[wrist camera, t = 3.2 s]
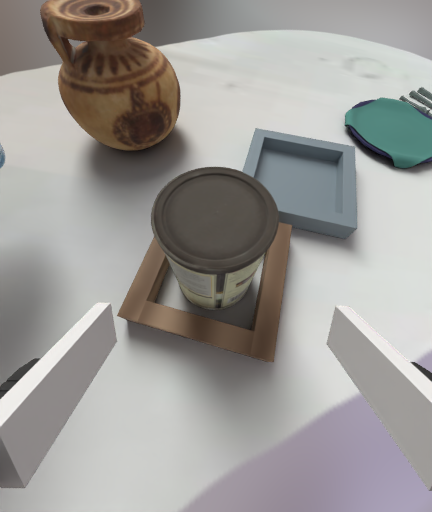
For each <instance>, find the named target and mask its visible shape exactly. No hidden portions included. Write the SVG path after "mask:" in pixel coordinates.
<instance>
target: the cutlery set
mask: <svg viewBox="0 0 432 512" xmlns="http://www.w3.org/2000/svg"><path fill="white" fill-rule="evenodd" d="M417 92H418V93H421V94H422V95H424V96H426V97H427V98H428V99H430V100H432V94H431V93H430V92H428V91H427V90H425V89H424V88H422V87H421V88H420V89H419V90H418V91H417ZM418 93H416V92H415V91H411V92H410V94H409V95H410V96H413V97H415V98H417V99H419V100H420V101H422V102H424V103H425V104H427V105H428V106H430V107H431V108H432V103H431V102H429V101H428V100H426V99H425V98H423V97H422V96H421V95H419V94H418ZM400 99H403V100H405V101H407V102H409V103H410V104H412V105H414V106H415V107H417V108H418V109H416V108H414V107H413V106H412V105H410V104H409V103H407V102H403V101H399V100H395V99H388V98H379V99H377V100H369V101H364V102H360V103H359V104H357V105H355V106H354V107H352V109H351V110H349V111H348V112H347V113H346V115H345V126H348V125H349V127H350V129H351V131H352V133H353V135H354V136H355V137H356V138H357V139H358V140H360V141H361V142H362V143H363V144H364V145H365V146H367V147H368V148H370V149H372V150H373V151H375V152H376V153H379V154H381V155H384V156H386V157H389V158H391V159H393V161H394V166H395V167H398V168H408V167H412V166H414V165H416V164H418V163H428V162H431V161H432V114H431V113H429V111H430V110H426V108H425V107H421V106H418V105H417V104H415V103H413V102H411V101H409V100H408V99H406V98H405V97H403V96H401V97H400Z"/></svg>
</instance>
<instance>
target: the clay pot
mask: <svg viewBox="0 0 432 512" xmlns="http://www.w3.org/2000/svg"><path fill="white" fill-rule="evenodd" d="M40 11H41V12H40V13H41V18H42V22H43V27H44V29H45V32H46V34H47V36H48V38H49V40H50V42H51V43H52V45H53V46H54V48H55V49H56V51H57V52H58V53H59V55H60V57H61V58H62V60H63V63H62V66H61V68H60V71H59V76H58V85H59V91H60V94H61V97H62V100H63V102H64V104H65V106H66V108H67V110H68V111H69V113H70V114H71V116H72V117H73V118H74V119H75V121H76V122H77V123H78V124H79V125H80V126H81V127H82V128H83V129H84V130H85V131H86V132H87V133H88V134H89V135H91V136H92V137H93V138H95V139H96V140H97V141H99V142H101V143H103V144H105V145H107V146H109V147H112V148H116V149H120V150H129V151H132V150H141V149H145V148H148V147H151V146H153V145H155V144H157V143H158V142H160V141H161V140H163V139H164V138H165V137H166V136H167V135H168V134H169V133H170V132H171V130H172V129H173V128H174V125H175V123H176V121H177V118H178V115H179V110H180V86H179V82H178V79H177V76H176V74H175V71H174V69H173V67H172V65H171V64H170V62H169V61H168V59H167V58H166V57H165V56H164V55H163V54H162V53H161V52H160V51H159V50H158V49H157V48H155V47H154V46H152V45H151V44H149V43H146V42H144V41H141V40H139V39H136V38H132V37H131V36H133V35H135V34H137V33H139V32H140V31H141V30H142V27H144V17H143V10H142V6H141V3H140V2H139V0H49V1H46V2H45V3H44V4H43V5H42V6H41V10H40ZM68 39H72V40H78V41H86V42H83V43H82V44H80V45H79V46H77V47H76V48H75V47H73V46H72V45H71V44H70V43H69V41H68Z"/></svg>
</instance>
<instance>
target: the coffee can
mask: <svg viewBox="0 0 432 512" xmlns="http://www.w3.org/2000/svg"><path fill="white" fill-rule="evenodd" d="M151 225H152V230H153V233H154V236H155V238H156V240H157V242H158V244H159V245H160V247H161V248H162V250H163V251H164V253H165V255H166V257H167V259H168V261H169V263H170V265H171V267H172V270H173V272H174V274H175V276H176V278H177V280H178V282H179V285H180V288H181V290H182V292H183V294H184V295H185V296H186V298H187V299H188V300H189V301H191V302H192V303H193V304H195V305H197V306H198V307H201V308H204V309H208V310H221V309H225V308H229V307H230V306H232V305H234V304H236V303H237V302H238V301H239V300H241V299H242V297H243V296H244V295H245V293H246V292H247V290H248V288H249V285H250V283H251V281H252V279H253V277H254V274H255V272H256V270H257V268H258V266H259V264H260V262H261V260H262V258H263V256H264V254H265V252H266V251H267V250H268V249H269V247H270V246H271V244H272V243H273V241H274V239H275V236H276V234H277V230H278V225H279V213H278V208H277V205H276V203H275V201H274V198H273V197H272V195H271V194H270V192H269V191H268V190H267V189H266V187H265V186H264V185H263V184H262V183H260V182H259V181H258V180H256V179H255V178H253V177H252V176H250V175H248V174H246V173H243V172H241V171H238V170H235V169H230V168H225V167H205V168H199V169H195V170H191V171H188V172H186V173H184V174H181V175H179V176H178V177H176V178H174V179H173V180H172V181H170V182H169V183H168V184H167V185H166V186H165V187H164V188H163V189H162V190H161V191H160V193H159V194H158V196H157V198H156V200H155V202H154V205H153V208H152V213H151Z"/></svg>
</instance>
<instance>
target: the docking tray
mask: <svg viewBox="0 0 432 512" xmlns="http://www.w3.org/2000/svg"><path fill="white" fill-rule="evenodd" d="M243 173H246V174H248V175H250V176H252V177H253V178H255V179H256V180H258V181H259V182H260V183H262V184H263V185H264V186H265V187H266V189H267V190H268V191H269V192H270V194H271V195H272V197H273V198H274V201H275V203H276V205H277V208H278V213H279V222H280V223H285V224H289V225H292V227H294V228H299V229H303V230H307V231H312V232H316V233H321V234H325V235H329V236H334V237H338V238H342V239H346V238H347V237H348V236H349V235H350V234H351V233H353V232H354V231H355V230H356V229H357V203H356V168H355V147H354V146H349V145H343V144H338V143H333V142H327V141H322V140H316V139H311V138H306V137H300V136H295V135H289V134H284V133H279V132H273V131H268V130H262V129H257V128H256V129H255V132H254V135H253V139H252V142H251V145H250V148H249V152H248V155H247V158H246V162H245V165H244V168H243Z"/></svg>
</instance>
